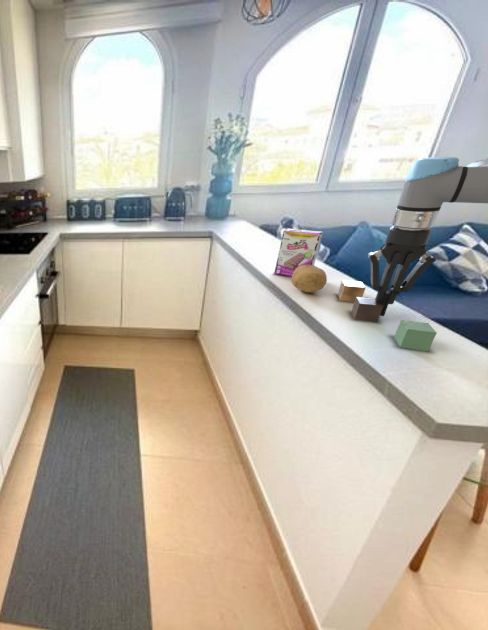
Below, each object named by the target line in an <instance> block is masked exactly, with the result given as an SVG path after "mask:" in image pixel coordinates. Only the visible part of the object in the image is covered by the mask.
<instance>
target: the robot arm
mask: <svg viewBox="0 0 488 630" xmlns="http://www.w3.org/2000/svg"><path fill="white" fill-rule="evenodd" d="M459 162H460V158H458V157H455V156H432V157H431V156H430V157H421V158H418V159H416V160H414V161H413V162H412V164H411V165H410V168H409V170H408V173H407V175H406V178H405V181H404V184H403V187H402V190H401V194H400V197H399V200H398V203H397V206H396V209H395V212H394V214H393V218H392V220H391V223H390V224H391V225H392V226H391V227H390V228H388V232H387V234H386V238H385V241H384V244H382V246H381V247H380V248H379V250H376V251H374V252H372V251H371V252H367V257H368V259H369V261H370V286H371V288H372V290H374V291H377V293H376V296H375V298H376V299H375V300H376V302H377V303H382V305H383V308H382V311H381V314H380V317H385V315H386V312H387V309H388V307H389V305H393V304H395V301H396V298H397V296H398V295H400V293H408V292H409V291H410V290H411V288H412V287H413V286H414V285H415V283H416V282H417V281H418V279H419V278H420V277H421V276H422V275H423V273H424V272H425V271H426V269H427V268H428V267H429V266H431V265H432V264H434V263H435V262H436V261H437V259H436V257H434V256H433V255H431V254H429V253H427V247H426V246H427V244H428V241H429V240H430V236H431V234H432V231H433V230H432V229H431V228H433V227H434V226H435V224H436V221H437V218H438V216H439V213H440V210H441V208H442V206H443V204H444V203H449V204H450V203H452V204H453V203H461V204H462V203H464V204H488V157H487V158H485V159H479V160H477V161H475V162H472V163H470V164H468V165H466V166H463V165H459ZM381 256H383V258H384V260H385V261H386V262H385V267H384V270H383V273H382V276H381V278H380V262H379V261H380V260H381ZM417 260H419V261H418V262H417V263H416V264H415V265H414V266H413V268H412V269H411V271H410V272H409V273H408V274H407V272H408V270H409V269H410V266H411V264H413V263H414V262H416V261H417ZM395 269H396V272H395ZM394 272H395V274H394ZM393 275H394V276H393ZM406 275H407V276H406ZM405 277H406V278H405ZM392 278H393V279H392ZM390 283H391V285H390Z"/></svg>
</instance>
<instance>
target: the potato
mask: <svg viewBox="0 0 488 630" xmlns="http://www.w3.org/2000/svg"><path fill="white" fill-rule="evenodd" d="M327 281H328V277H327V273H326V271H325V270H323V269H322V268H320V267H318V266H315V264H314V265H301V266H299V267H297V268H296V270H295V271H294V273H293V275H292V277H291V283H292V285H293V286H294V288H296V289H298V290H300V291H302V292H305V293H315V292H318V291H321V290H322V289H324V287H325V286H326V285H327Z"/></svg>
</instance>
